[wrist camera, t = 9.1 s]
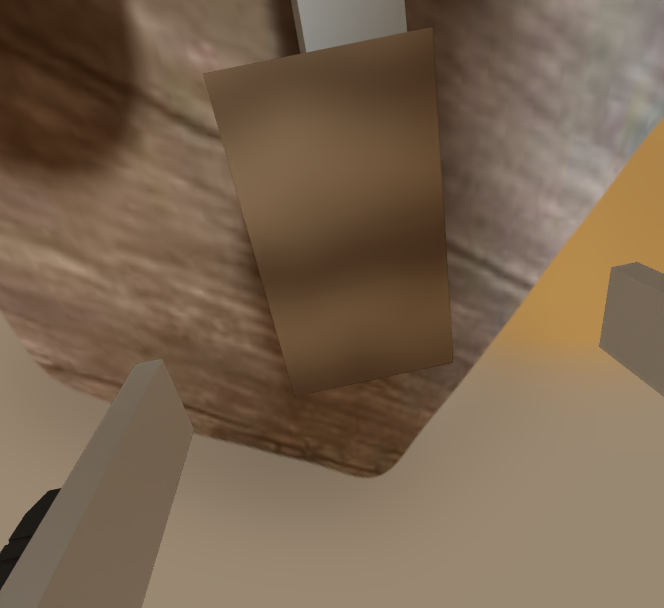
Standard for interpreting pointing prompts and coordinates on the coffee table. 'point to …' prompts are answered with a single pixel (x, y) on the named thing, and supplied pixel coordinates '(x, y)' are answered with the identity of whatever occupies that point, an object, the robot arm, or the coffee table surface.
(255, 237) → the board
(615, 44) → the coffee table surface
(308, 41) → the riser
